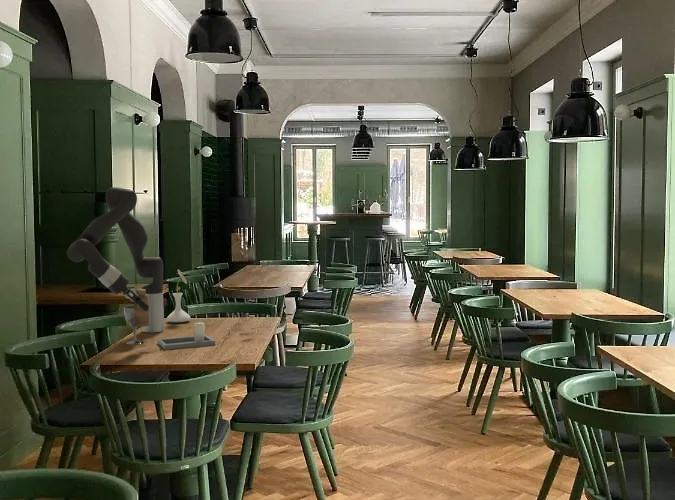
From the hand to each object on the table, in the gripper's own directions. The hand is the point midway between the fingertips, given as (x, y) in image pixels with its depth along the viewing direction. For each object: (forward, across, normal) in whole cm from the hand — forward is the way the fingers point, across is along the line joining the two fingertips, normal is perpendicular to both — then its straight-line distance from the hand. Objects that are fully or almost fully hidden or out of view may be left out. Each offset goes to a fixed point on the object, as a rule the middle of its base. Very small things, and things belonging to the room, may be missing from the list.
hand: (146, 307), depth 290 cm
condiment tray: (+23, 0, +1) cm, 23 cm away
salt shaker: (+26, 0, -4) cm, 26 cm away
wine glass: (+11, +18, +13) cm, 25 cm away
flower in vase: (+31, +62, -6) cm, 69 cm away
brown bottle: (+4, 0, +6) cm, 7 cm away
